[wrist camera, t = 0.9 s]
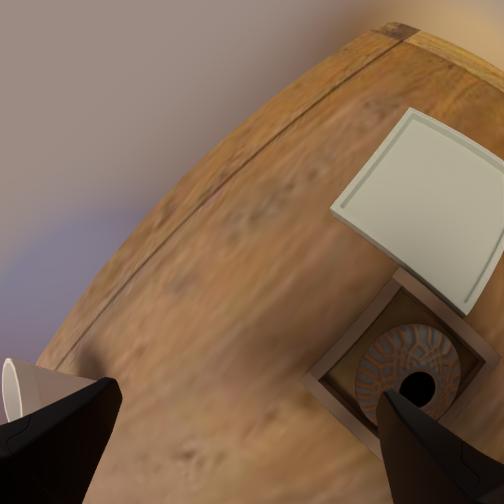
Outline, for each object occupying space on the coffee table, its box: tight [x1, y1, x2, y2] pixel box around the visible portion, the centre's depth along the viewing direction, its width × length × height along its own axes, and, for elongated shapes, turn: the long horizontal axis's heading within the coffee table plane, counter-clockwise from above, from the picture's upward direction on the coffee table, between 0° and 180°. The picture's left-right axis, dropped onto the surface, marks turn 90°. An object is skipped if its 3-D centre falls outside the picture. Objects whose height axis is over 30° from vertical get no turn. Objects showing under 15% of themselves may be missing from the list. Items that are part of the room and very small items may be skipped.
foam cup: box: [2, 358, 97, 422], centre depth 24 cm, size 10×9×13 cm
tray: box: [330, 107, 504, 318], centre depth 19 cm, size 14×14×2 cm
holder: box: [299, 266, 502, 462], centre depth 16 cm, size 11×11×2 cm
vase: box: [355, 324, 461, 425], centre depth 13 cm, size 7×7×9 cm
